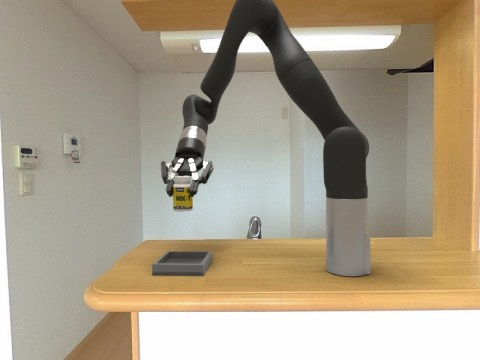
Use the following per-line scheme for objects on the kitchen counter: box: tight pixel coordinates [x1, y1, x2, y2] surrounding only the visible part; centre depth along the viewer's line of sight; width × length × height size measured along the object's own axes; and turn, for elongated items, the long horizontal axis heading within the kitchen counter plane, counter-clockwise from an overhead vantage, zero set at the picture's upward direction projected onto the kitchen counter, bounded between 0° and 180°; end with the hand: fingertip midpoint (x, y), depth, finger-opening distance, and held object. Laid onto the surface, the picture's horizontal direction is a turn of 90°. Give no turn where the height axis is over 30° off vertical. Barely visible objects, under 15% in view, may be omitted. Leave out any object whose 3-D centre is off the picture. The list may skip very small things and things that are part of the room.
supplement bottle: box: [172, 176, 194, 213], centre depth 83 cm, size 5×5×8 cm
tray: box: [151, 250, 213, 277], centre depth 83 cm, size 12×12×2 cm
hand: (180, 194), depth 81 cm, fingers closed on supplement bottle, 4 cm apart
